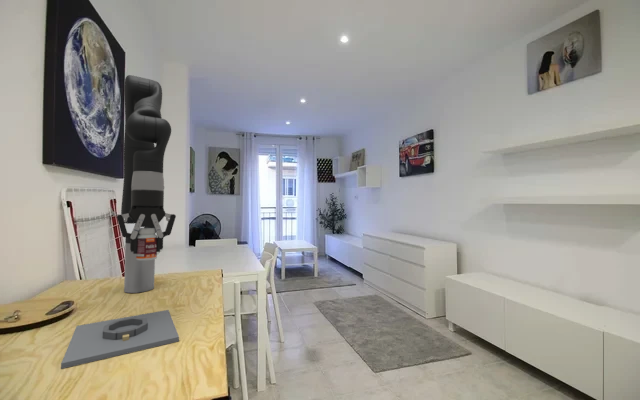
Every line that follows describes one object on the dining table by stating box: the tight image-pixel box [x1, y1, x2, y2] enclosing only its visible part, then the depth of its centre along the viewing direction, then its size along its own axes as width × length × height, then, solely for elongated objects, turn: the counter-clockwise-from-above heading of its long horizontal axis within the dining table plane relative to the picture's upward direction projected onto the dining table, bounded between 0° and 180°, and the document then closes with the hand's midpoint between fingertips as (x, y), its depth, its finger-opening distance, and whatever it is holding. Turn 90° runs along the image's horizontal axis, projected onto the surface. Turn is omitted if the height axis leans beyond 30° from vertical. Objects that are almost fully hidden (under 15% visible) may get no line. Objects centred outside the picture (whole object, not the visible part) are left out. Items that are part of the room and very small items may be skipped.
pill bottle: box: [136, 227, 158, 261], centre depth 77 cm, size 5×5×8 cm
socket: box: [60, 309, 180, 369], centre depth 67 cm, size 20×20×2 cm
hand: (146, 252), depth 76 cm, fingers closed on pill bottle, 4 cm apart
